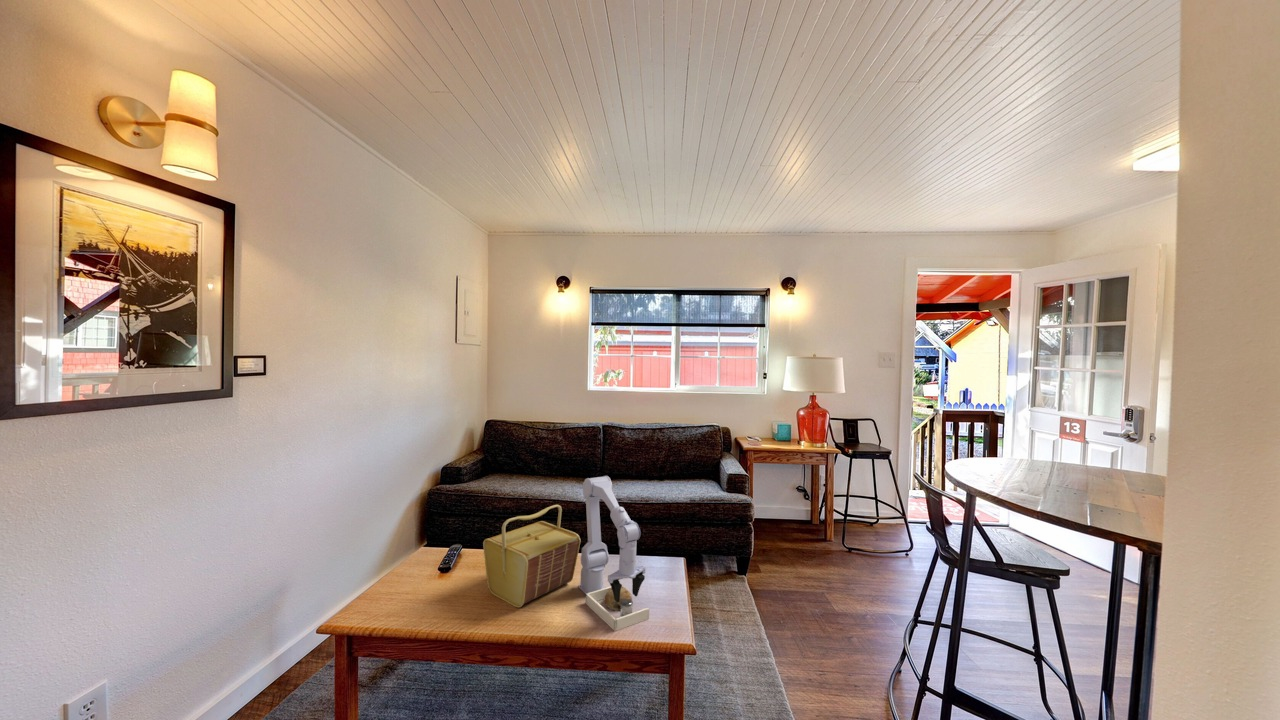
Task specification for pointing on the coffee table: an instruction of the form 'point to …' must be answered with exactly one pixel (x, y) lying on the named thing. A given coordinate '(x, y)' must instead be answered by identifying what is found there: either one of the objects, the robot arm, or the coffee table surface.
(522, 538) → the picnic basket
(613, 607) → the bread roll
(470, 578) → the coffee table surface
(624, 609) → the grey tin
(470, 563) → the coffee table surface
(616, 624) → the cream low open frame
